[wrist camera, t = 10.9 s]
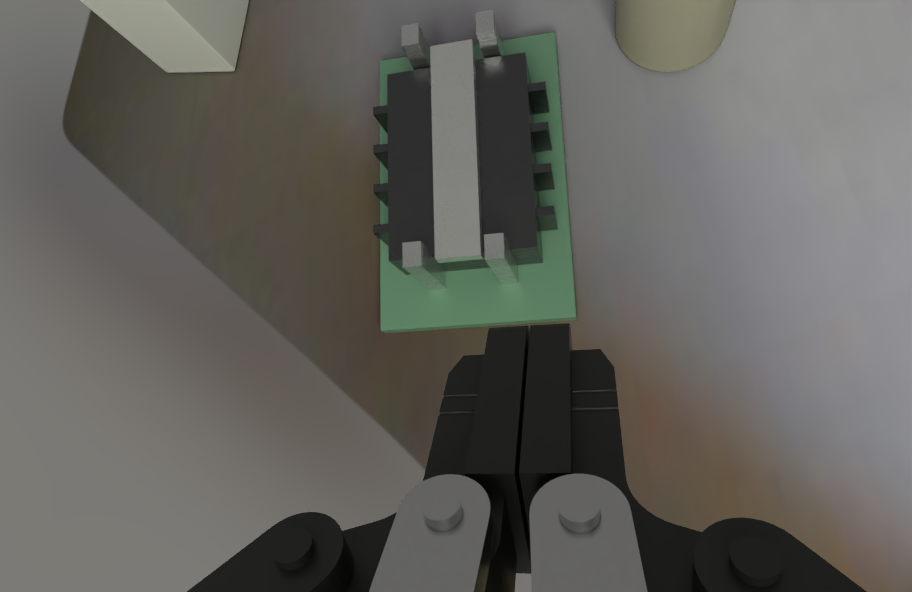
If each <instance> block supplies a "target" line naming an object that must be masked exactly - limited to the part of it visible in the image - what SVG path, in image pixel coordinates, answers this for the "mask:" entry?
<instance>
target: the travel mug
mask: <svg viewBox="0 0 912 592" xmlns="http://www.w3.org/2000/svg"><path fill="white" fill-rule="evenodd" d="M735 3H736V0H616V16H615V34H616V39H617V42H618V44H619V46H620V48H621V50H622V51H623V53H624V54H625V55H626V56H627V57H628V58H629V59H630V60H631V61H633V62H634V63H636V64H637V65H639V66H641V67H644V68H646V69H649V70H653V71H659V72H673V71H680V70H684V69H688V68H690V67H693V66H695V65H697V64H699V63H701V62H703V61H704V60H706V59H707V58H708V57H709V56H711V55H712V54H713V53H714V52H715V51H716V50H717V48H718V47H719V46H720V44H721V43H722V41H723V39H724V37H725V34H726V31H727V28H728V25H729V22H730V19H731V16H732V12H733V9H734V6H735Z"/></svg>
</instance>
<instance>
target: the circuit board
mask: <svg viewBox="0 0 912 592" xmlns="http://www.w3.org/2000/svg"><path fill="white" fill-rule="evenodd" d="M501 43H502V47H503V51H504V55H511V54H517V53H523V52H525V53H526V58H527V63H528V68H529V73H530V78H531V83H538V82H544V81H545V82H546V89H547V95H548V101H549V111H550V112H548V113H541V114H534V123H540V122H548V123H549V129H550V135H551V141H552V150H550V151H543V152H536V161H537V164H546V163H551V165H552V171H553V176H554V182H555V189H554V190H545V191H538V192H539V207H545V206H554V208H555V213H556V218H557V225H558V230H549V231H541V239H542V255H543V263H537V264H526V265H517V266H518V283H514V284H502V285H501V283H500V282H499V280H498V279H497V277H496V276H495V274H494V273H493V271H492V270H491V268H481V269H470V270H459V271H447V272H446V289H441V290H429V289H428V288H427V287H426V286H424V285H423V284H422V283H421V282H420V281H418V280H417V279H416V278H415V277H414V276H412V275H405V274H404V273H403V272H402V271H401V270H399V269H398V268H397V267H396V266H394V265H393V264H392V263H391V262H389V251H388V245H387V244H385V243H384V242H383V241H382V240H381V239H380V294H381V331H382V332H384V333H397V332H411V331H426V330H440V329H455V328H469V327H484V326H498V325H513V324H527V323H542V322H556V321H571V320H577V315H576V302H575V289H574V275H573V262H572V249H571V235H570V222H569V209H568V195H567V182H566V169H565V156H564V142H563V129H562V116H561V102H560V89H559V76H558V62H557V49H556V38H555V32H551V33H545V34H539V35H533V36H527V37H521V38H515V39H509V40H503V41H501ZM474 46H475V60H480V59H484V57H483V54H482V50H481V47H480V44H479V45H474ZM411 70H414V69H413V67H412V65H411V63H410V61H409V59H408V57H407V56H406V57H400V58H394V59H388V60H382V61H380V106H384V105H387V74H393V73H399V72H405V71H411ZM387 143H388V134H387V133H386V131H385V130H384V129H383V127H382V126H381V124H380V144H387ZM382 183H388V170H387V169H386V168H385V166H384V165H383V164H382V163H381V162H380V184H382ZM380 224H388V207H387V206H386V205H385V204H384V203H383V202H382V201H381V200H380Z"/></svg>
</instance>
